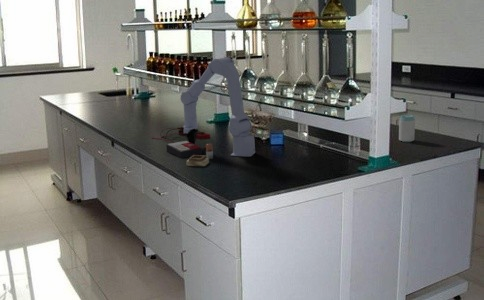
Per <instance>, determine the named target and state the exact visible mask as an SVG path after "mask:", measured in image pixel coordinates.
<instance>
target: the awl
mask: <svg viewBox="0 0 484 300" xmlns="http://www.w3.org/2000/svg"><path fill="white" fill-rule="evenodd" d="M205 155H206V158H209V161H211V160H213V159H214V152H213V143H205Z"/></svg>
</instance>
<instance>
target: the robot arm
mask: <svg viewBox="0 0 484 300" xmlns="http://www.w3.org/2000/svg"><path fill="white" fill-rule="evenodd" d="M215 75H219V76H222V77H223V78H224V79H226V81H227V90H228V95H229V97H228V98H229V103H230V111H231V115H230V118H229V125H228V131H229V133H230V134H231V137H232V150H233V151H232V153H231V154H230V156H231V157H250V158H251V157H252V156H254V154H255V153H256V147H255V145H256V144H255V143H256V142H255V135H251V134H250V131H251V130H252V122H251V121H250V118H249V115H248V114H247V113H245V108H244V100H243V94H242V89H241V88H242V86H241V81H240V73H239V71H238V68H237V67H236V65H235V60H233V59H232V58H230V57H228V56H225V57H222V58H221V57H220V58H213V59H211V61H210V62H209V63H208V65H207V68H206V69H205V71H204V72H203V73H202V75H201V76H200V78H199V79H195V80H193V81H192V82H191V83H192V84H191V85H190V86H189V88H188V87H187V88H186V91H183V92H181V95H180V102H181V103H182V104H183V113H184V114H183V115H184V117H183V118H184V125H183V126H182V127H183V128H184V129H183V131H184V133H185V134H186V136H185V137H186V138H187V141H189V142H191V143H193V144H195V145H196V139H197V138H196V135H197V133H198V131H199V129H197V128H199V127H200V126H199V123H198V120H197V119H198V118H197V104H198V103H197V102H198V101H199V97H200V95H201V94H202V93H203V92H204V90H205V89H206V84H207V83H208V82H209V81H210V80H211V79H212V78H213V76H215Z"/></svg>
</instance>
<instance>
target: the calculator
mask: <svg viewBox="0 0 484 300" xmlns="http://www.w3.org/2000/svg"><path fill="white" fill-rule="evenodd" d="M166 153H169V154H172V155H174V156H176V157H177V158H179V159H181V158H182V159H183V158H187V157H191V156H193V155H202V154H203V149H202V147H201V146H199V145H197V144H196V143H195V144H193V143H191V142H188V140H184V141H182V142H181V141H178V142H175V143H174V142H172V143H167V144H166Z"/></svg>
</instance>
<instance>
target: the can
mask: <svg viewBox="0 0 484 300" xmlns="http://www.w3.org/2000/svg"><path fill="white" fill-rule="evenodd" d="M398 124H399V125H398V140H399V141H400V142H401V141H402V142H401V143H411V142H414V141H415V129H416V119H415V116H414V115H412V114H402V115H400V117H399V120H398Z"/></svg>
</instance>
